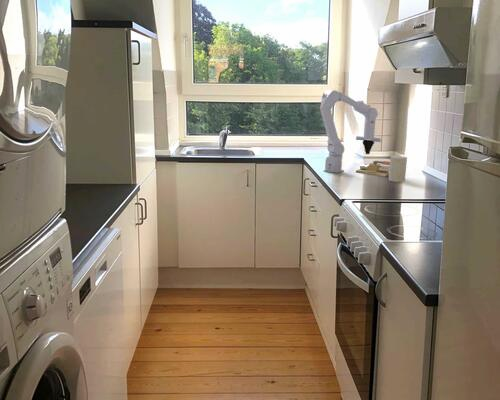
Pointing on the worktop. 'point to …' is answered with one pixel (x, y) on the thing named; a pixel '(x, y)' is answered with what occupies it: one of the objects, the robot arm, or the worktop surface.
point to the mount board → (372, 172)
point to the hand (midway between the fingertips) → (367, 154)
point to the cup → (397, 168)
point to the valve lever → (382, 162)
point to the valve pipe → (374, 168)
